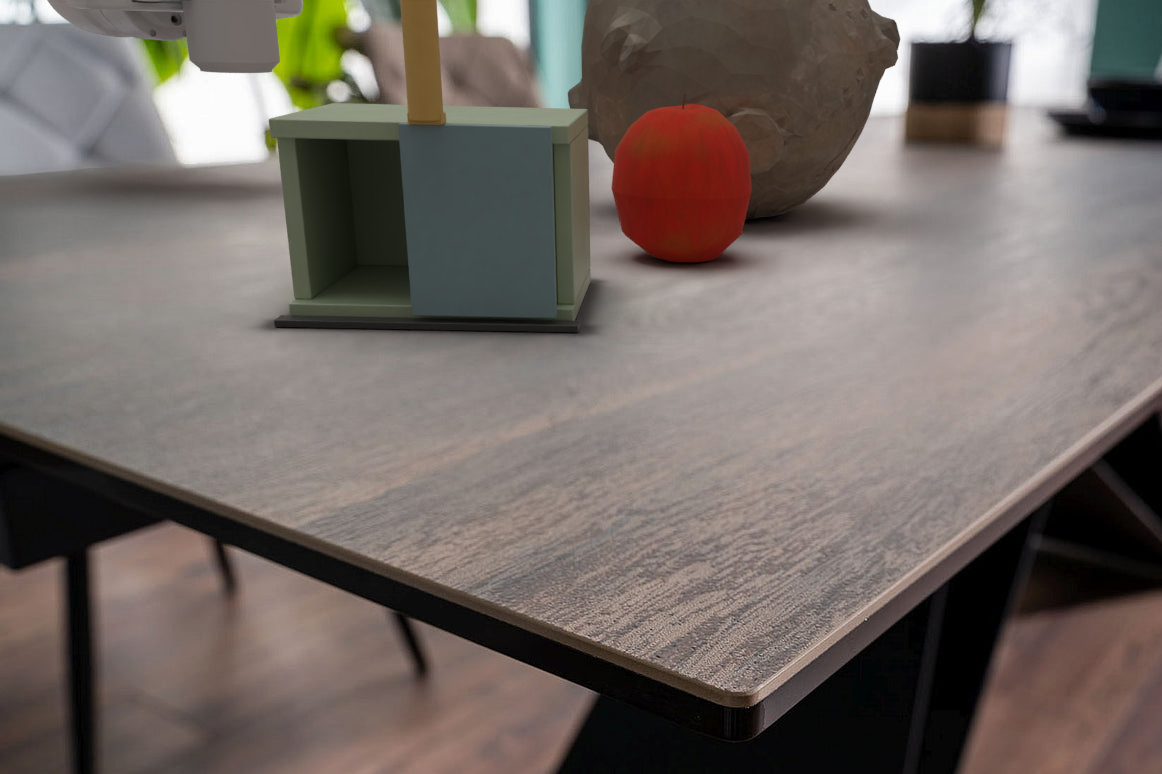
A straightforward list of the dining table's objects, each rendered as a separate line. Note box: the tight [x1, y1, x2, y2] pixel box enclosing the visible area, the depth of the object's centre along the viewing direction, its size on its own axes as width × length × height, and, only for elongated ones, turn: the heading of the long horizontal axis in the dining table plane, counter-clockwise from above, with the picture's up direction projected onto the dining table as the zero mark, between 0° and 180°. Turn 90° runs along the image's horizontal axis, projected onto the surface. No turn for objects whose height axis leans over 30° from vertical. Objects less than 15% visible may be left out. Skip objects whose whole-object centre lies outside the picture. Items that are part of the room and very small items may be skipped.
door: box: [398, 0, 557, 318], centre depth 62 cm, size 8×2×20 cm, turn 91°
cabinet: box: [268, 102, 592, 333], centre depth 70 cm, size 17×14×11 cm
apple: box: [611, 94, 752, 263], centre depth 85 cm, size 10×10×12 cm
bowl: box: [567, 0, 901, 220], centre depth 104 cm, size 27×29×20 cm
